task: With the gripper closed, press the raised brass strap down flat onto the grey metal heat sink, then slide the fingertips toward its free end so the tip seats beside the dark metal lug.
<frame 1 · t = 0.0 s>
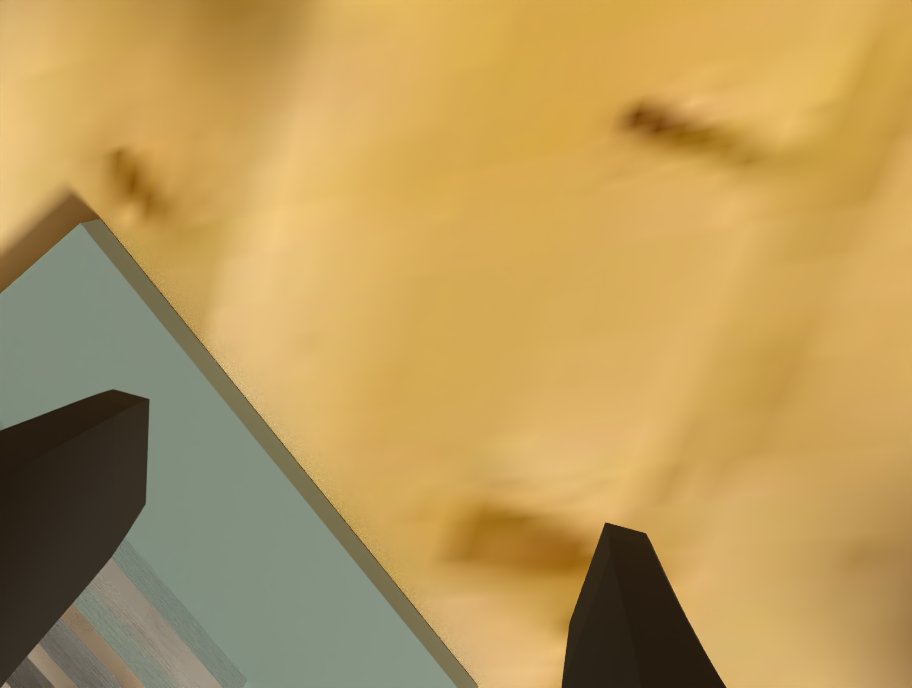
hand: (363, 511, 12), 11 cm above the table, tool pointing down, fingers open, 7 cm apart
base board: (74, 620, 27), on the table
heat sink: (16, 668, 24), on the base board, point 3 cm above the table
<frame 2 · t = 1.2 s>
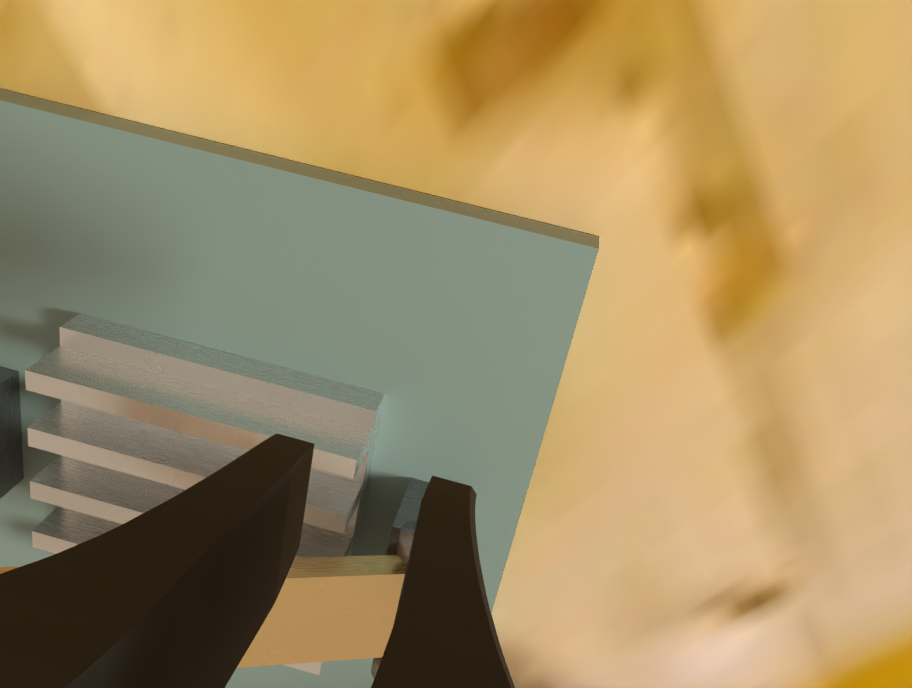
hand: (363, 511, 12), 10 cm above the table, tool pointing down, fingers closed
base board: (233, 463, 26), on the table
heat sink: (187, 513, 23), on the base board, point 3 cm above the table
strap: (164, 618, 20), point 6 cm above the table, hinge at 25.0°
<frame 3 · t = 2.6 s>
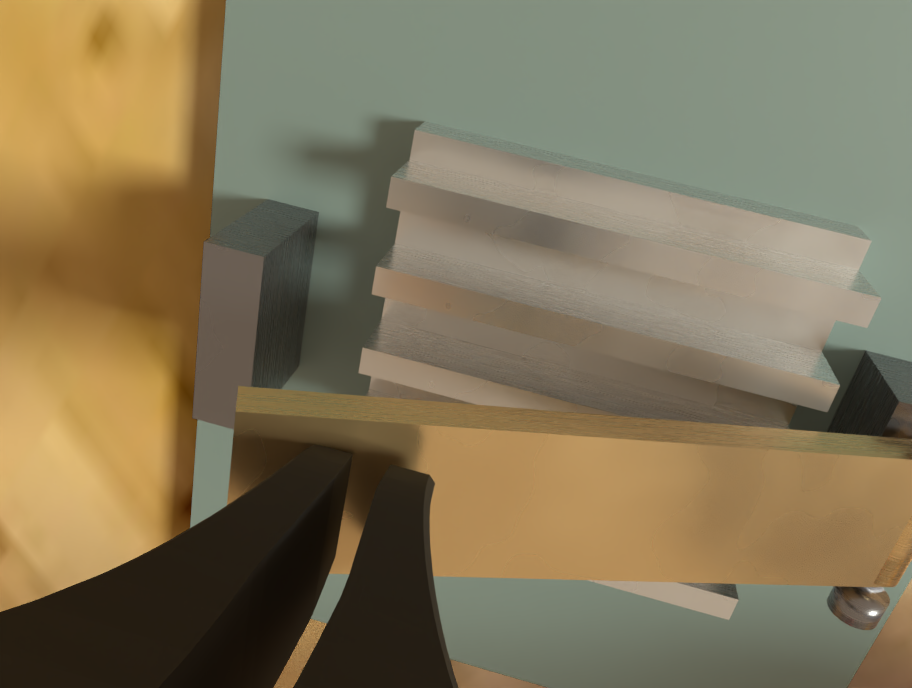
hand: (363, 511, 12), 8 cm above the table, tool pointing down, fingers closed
base board: (580, 345, 20), on the table
heat sink: (566, 395, 17), on the base board, point 3 cm above the table
strap: (616, 500, 14), point 6 cm above the table, hinge at 20.3°, touching gripper
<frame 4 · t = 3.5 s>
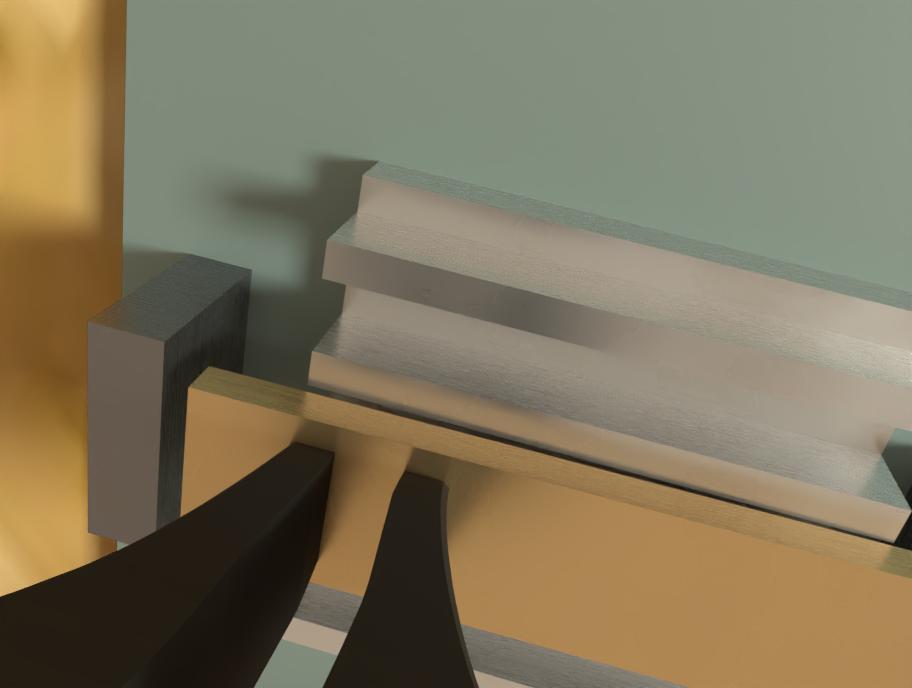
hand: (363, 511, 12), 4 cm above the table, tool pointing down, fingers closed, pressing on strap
base board: (576, 427, 16), on the table
heat sink: (557, 505, 14), on the base board, point 3 cm above the table
strap: (595, 567, 12), point 4 cm above the table, hinge at 0.7°, touching gripper
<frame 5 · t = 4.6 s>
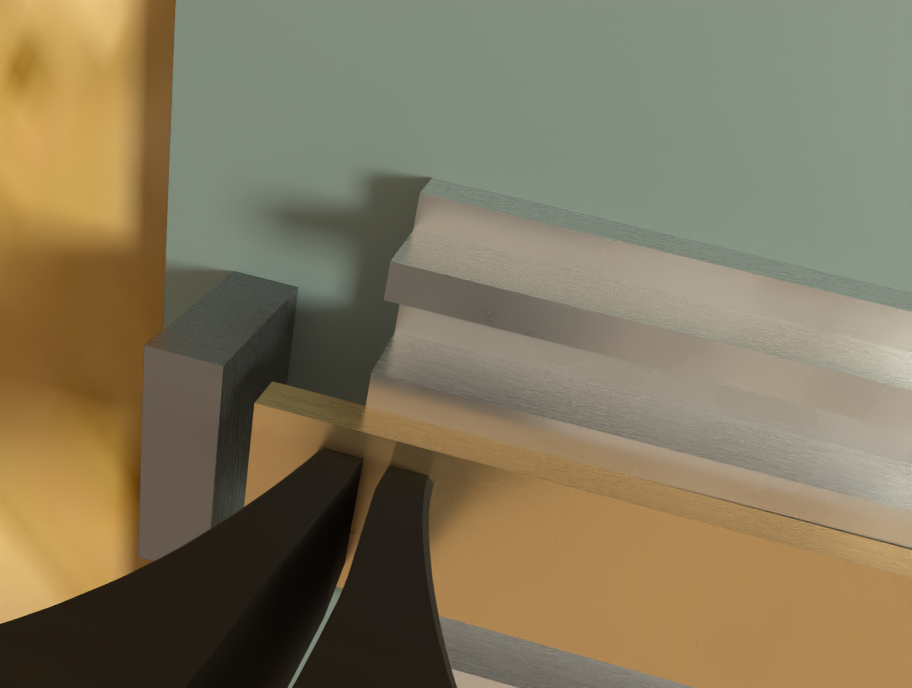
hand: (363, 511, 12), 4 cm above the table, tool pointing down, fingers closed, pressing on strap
base board: (623, 442, 16), on the table
heat sink: (614, 524, 13), on the base board, point 3 cm above the table
strap: (659, 582, 12), point 4 cm above the table, hinge at -0.4°, touching gripper, heat sink
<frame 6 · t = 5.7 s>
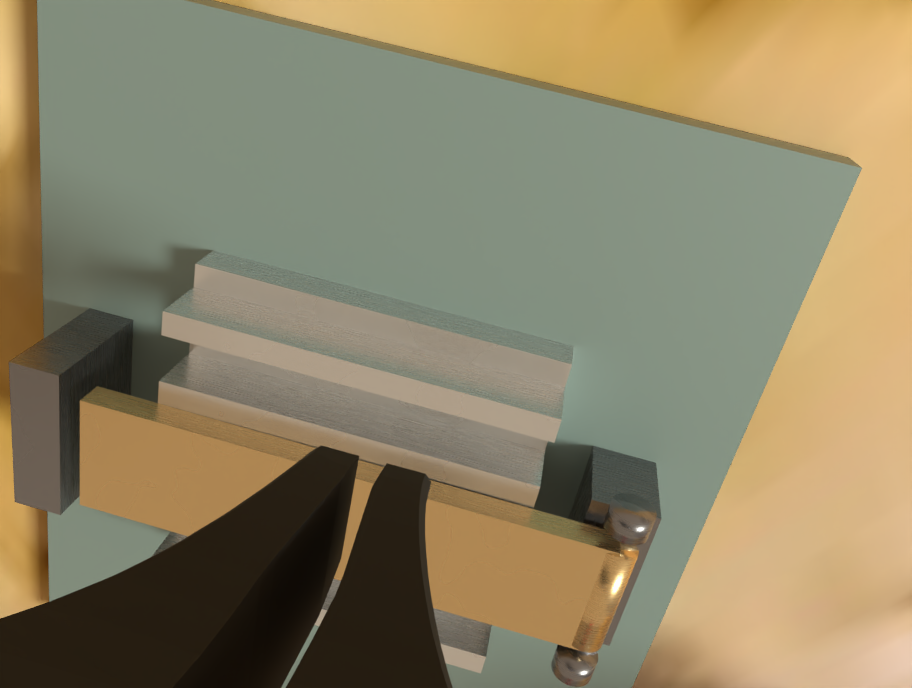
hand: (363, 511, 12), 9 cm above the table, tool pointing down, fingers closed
base board: (371, 430, 22), on the table
heat sink: (335, 484, 20), on the base board, point 3 cm above the table
strap: (348, 521, 19), point 4 cm above the table, hinge at -0.2°
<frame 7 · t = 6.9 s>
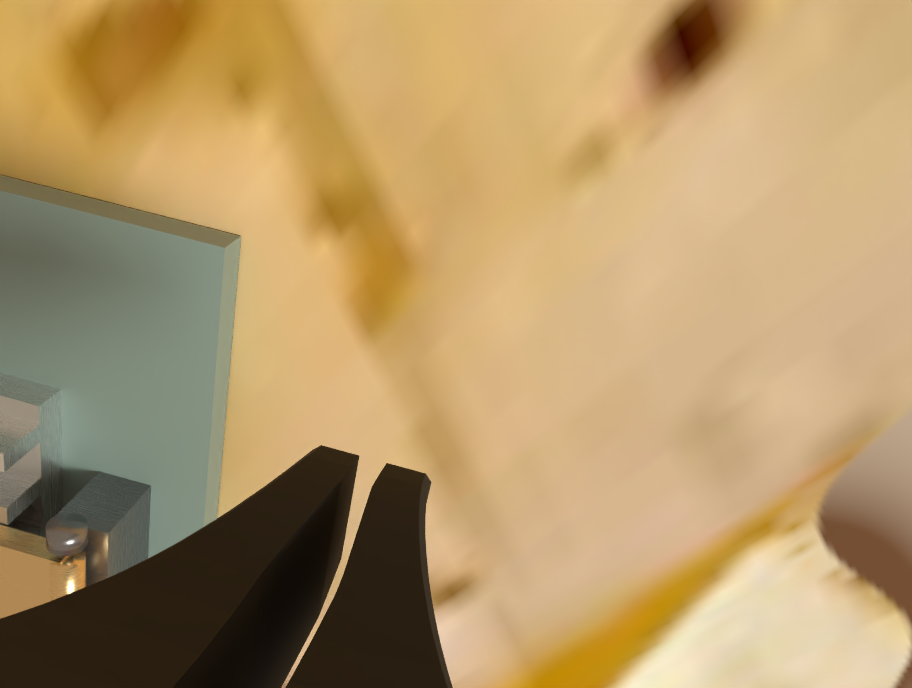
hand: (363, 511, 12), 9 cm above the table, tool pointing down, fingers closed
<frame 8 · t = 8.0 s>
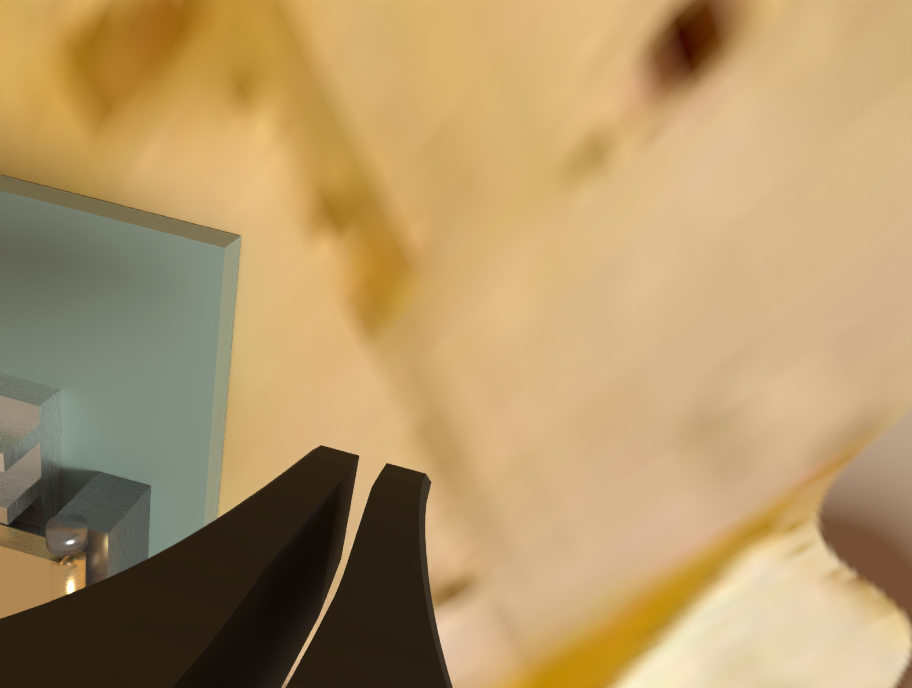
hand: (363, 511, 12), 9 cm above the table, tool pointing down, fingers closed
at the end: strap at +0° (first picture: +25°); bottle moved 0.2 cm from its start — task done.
